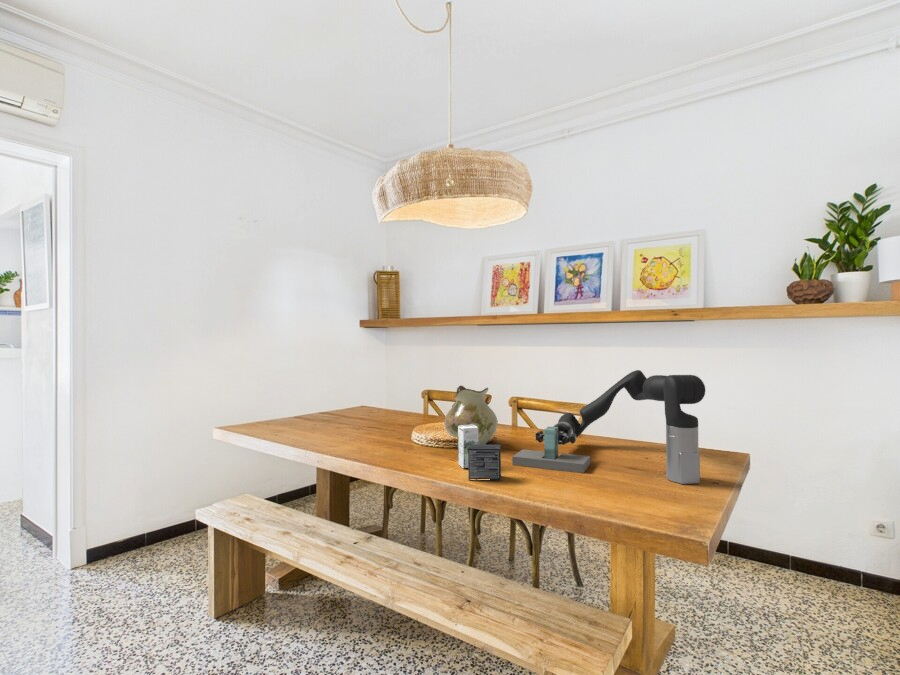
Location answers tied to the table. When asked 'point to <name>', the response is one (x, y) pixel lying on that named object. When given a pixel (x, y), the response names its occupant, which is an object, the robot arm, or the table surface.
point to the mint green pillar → (551, 443)
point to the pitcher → (471, 414)
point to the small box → (484, 462)
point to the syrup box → (466, 442)
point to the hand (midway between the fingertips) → (551, 440)
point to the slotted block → (552, 461)
